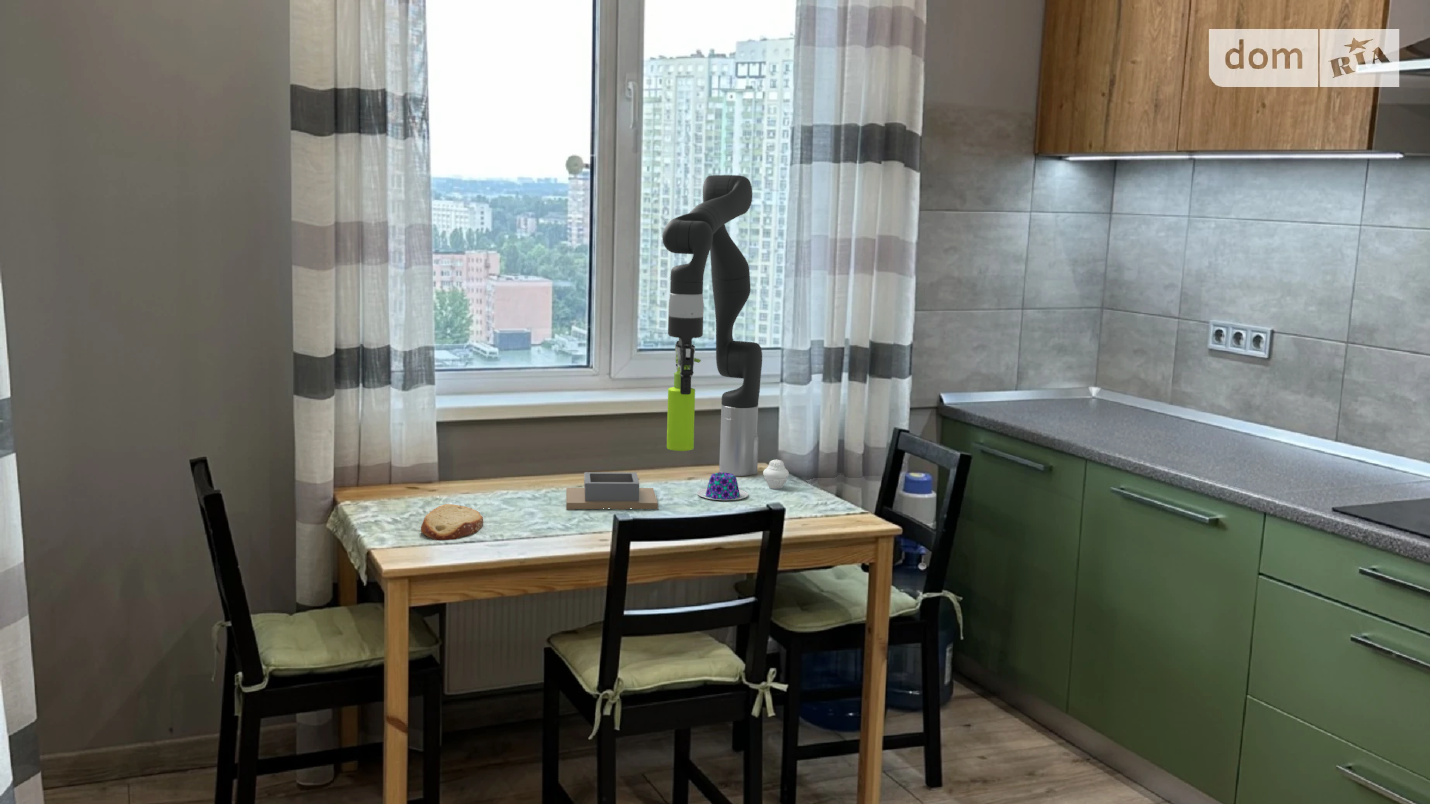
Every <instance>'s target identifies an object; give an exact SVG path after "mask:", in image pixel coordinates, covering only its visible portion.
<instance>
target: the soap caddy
mask: <svg viewBox="0 0 1430 804" xmlns="http://www.w3.org/2000/svg"><path fill="white" fill-rule="evenodd" d="M583 475H584V477H583V479H584V480H583V481H584V482H583V483H584V484H583V487H566V488H565V492H566V493H565V498H566V500H565V501H566V502H565V503H566V504H565V505H566V506H565V507H566V509H565V510H575V509H603V508H604V509H608V508H610V509H619V510H625V509H630V508H632V509H658V508H659V507H658V505H659V502H658V500H657V499H658V498H657V496H656V492H655V489H654V487H640V480H639V476H638V473H637V472H636V471H635V472H626V471H625V472H621V471H620V472H618V471H617V472H616V471H615V472H612V471H611V472H608V471H607V472H605V471H604V472H602V471H598V472H595V471H594V472H593V471H592V472H590V471H589V472H588V471H585V472H583ZM658 510H659V509H658Z"/></svg>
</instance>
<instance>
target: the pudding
mask: <svg viewBox="0 0 1430 804" xmlns="http://www.w3.org/2000/svg"><path fill="white" fill-rule="evenodd" d="M696 494H697V495H698V496H699V497H702V498H705V499H709V500H713V501H714V500H715V501H720V500H721V501H731V500H732V501H736V500H741V499H745V498H747V497H749V493H748V492H746V491H745V490H742V489H740V488H739V484H738V480H737V477H736V476H735V475H733V474H731V473H721V472H715V473H711V475H710V477H709V480H708V484H707V487H706V488H702V489H699V490H697V491H696ZM702 494H706V495H705V496H706V497H705V496H703V495H702ZM710 498H711V499H710Z"/></svg>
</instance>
